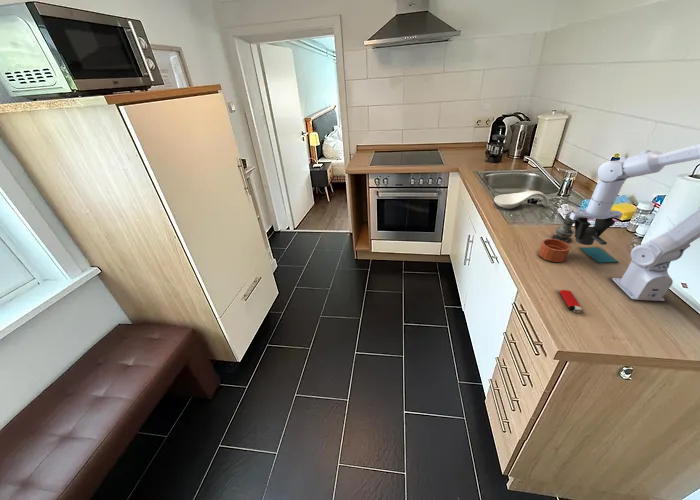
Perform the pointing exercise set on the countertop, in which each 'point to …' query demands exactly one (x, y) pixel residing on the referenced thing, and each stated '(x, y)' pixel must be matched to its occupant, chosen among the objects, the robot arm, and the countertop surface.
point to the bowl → (554, 250)
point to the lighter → (571, 301)
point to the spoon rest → (518, 199)
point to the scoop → (590, 237)
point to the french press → (496, 158)
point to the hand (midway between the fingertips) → (585, 237)
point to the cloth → (599, 255)
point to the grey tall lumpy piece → (565, 229)
